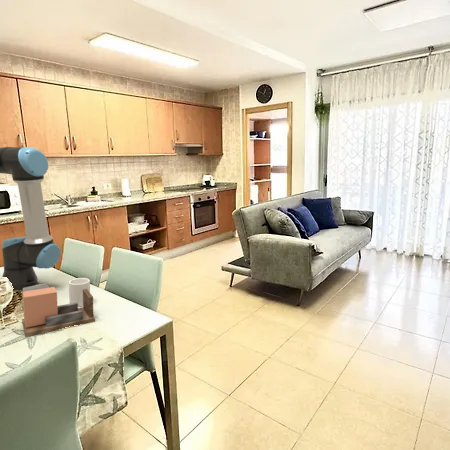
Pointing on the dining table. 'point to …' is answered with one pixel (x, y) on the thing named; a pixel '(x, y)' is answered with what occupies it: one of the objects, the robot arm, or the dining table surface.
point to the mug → (78, 290)
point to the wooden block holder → (65, 317)
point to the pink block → (39, 305)
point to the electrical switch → (36, 287)
